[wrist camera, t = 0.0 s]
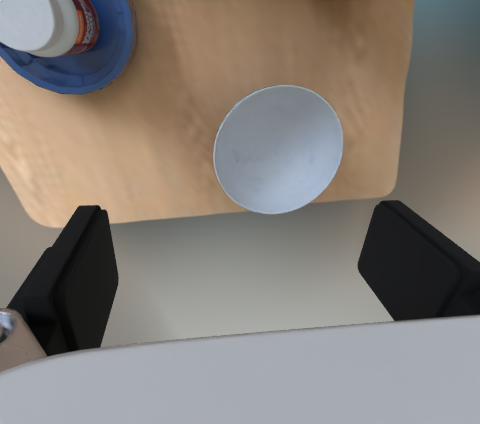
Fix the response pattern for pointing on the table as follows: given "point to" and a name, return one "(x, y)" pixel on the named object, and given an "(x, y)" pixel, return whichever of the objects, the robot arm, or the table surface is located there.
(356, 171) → the table surface
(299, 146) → the chinaware
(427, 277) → the robot arm
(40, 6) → the pill bottle
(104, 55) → the bowl
